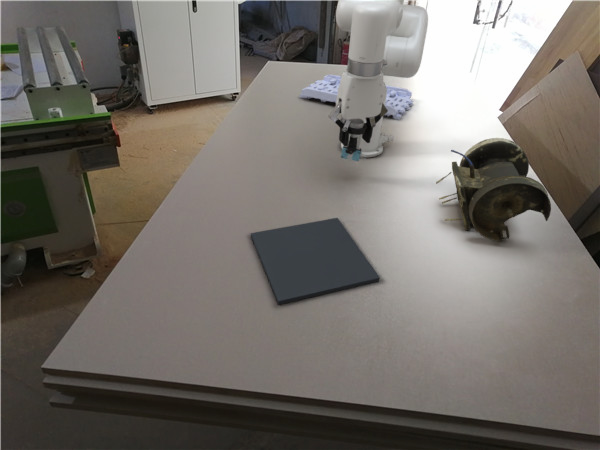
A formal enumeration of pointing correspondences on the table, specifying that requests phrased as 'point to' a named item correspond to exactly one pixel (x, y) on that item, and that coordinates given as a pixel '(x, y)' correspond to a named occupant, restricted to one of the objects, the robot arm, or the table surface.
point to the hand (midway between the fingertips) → (354, 141)
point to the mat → (311, 260)
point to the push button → (354, 141)
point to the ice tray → (329, 87)
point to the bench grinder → (496, 187)
